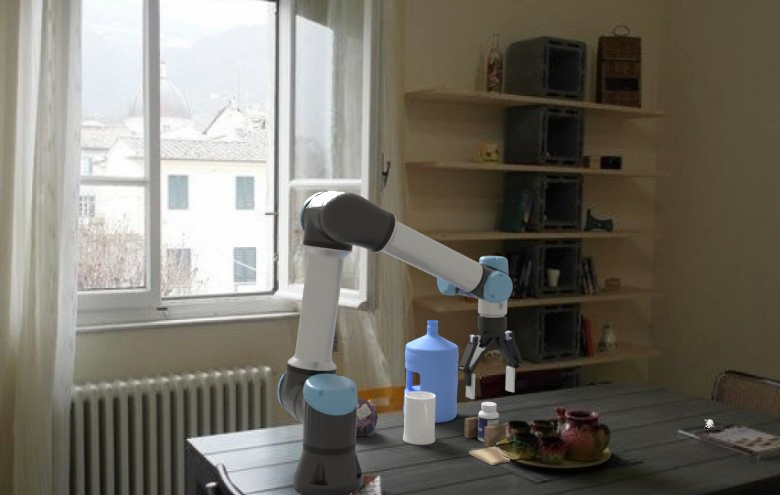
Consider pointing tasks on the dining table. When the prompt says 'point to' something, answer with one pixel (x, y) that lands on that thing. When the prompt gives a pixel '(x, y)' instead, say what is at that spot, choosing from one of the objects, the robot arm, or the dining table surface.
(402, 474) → the dining table surface
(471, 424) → the blocks
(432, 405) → the mug
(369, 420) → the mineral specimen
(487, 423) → the pill bottle
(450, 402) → the water jug
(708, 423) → the power adapter
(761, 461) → the dining table surface
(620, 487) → the dining table surface
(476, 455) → the cork pad
